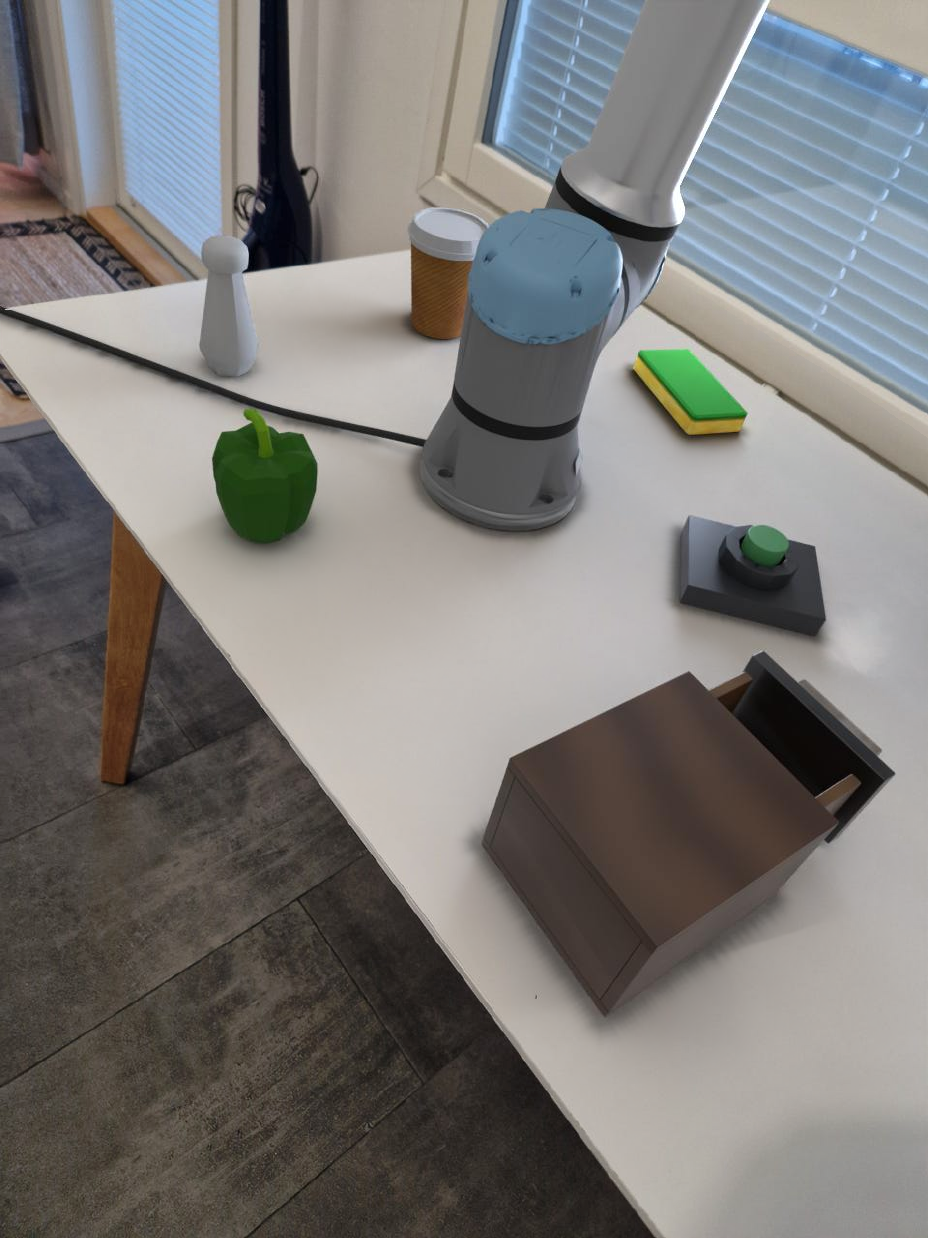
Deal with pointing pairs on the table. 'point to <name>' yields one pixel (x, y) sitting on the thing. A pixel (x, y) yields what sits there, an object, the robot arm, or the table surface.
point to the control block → (749, 578)
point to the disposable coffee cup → (442, 268)
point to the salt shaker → (227, 308)
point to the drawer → (807, 737)
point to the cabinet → (649, 835)
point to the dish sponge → (689, 391)
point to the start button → (764, 545)
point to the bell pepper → (264, 479)
